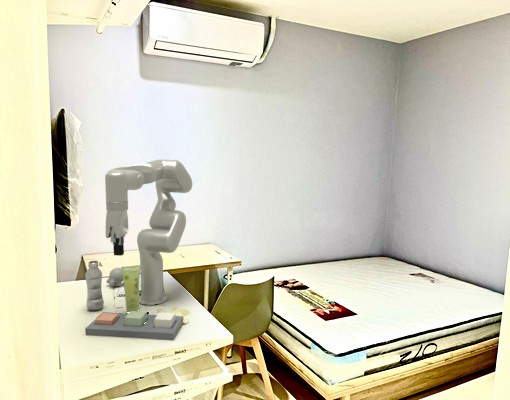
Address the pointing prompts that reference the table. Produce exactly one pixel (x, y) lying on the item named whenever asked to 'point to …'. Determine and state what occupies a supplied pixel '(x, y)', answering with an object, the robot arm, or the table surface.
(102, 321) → the terracotta button
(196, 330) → the table surface
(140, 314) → the sage button
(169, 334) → the panel
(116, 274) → the chubby cartoon animal
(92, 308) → the plastic bottle
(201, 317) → the table surface
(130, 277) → the tube
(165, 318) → the offwhite button
